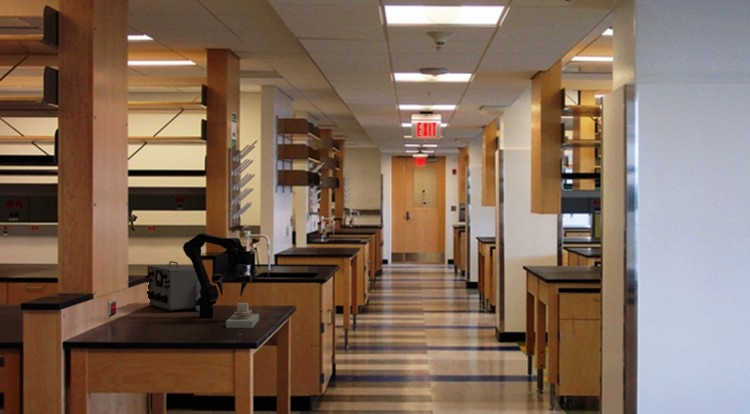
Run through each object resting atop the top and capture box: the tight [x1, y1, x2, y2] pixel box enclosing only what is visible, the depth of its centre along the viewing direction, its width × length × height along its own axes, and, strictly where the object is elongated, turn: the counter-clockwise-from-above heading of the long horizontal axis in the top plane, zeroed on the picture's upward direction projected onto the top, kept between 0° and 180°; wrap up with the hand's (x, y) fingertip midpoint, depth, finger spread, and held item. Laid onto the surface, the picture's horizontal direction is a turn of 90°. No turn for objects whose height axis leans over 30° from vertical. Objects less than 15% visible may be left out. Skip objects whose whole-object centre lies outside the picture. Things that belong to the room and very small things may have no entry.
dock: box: [225, 313, 260, 329], centre depth 350 cm, size 12×22×3 cm, turn 1°
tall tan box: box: [233, 308, 253, 319], centre depth 350 cm, size 6×11×3 cm, turn 1°
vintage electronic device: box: [144, 260, 199, 313], centre depth 399 cm, size 32×18×25 cm, turn 37°
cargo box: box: [236, 302, 250, 312], centre depth 350 cm, size 4×4×4 cm
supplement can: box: [195, 281, 212, 313], centre depth 391 cm, size 8×8×15 cm
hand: (231, 296), depth 363 cm, fingers open, 9 cm apart
